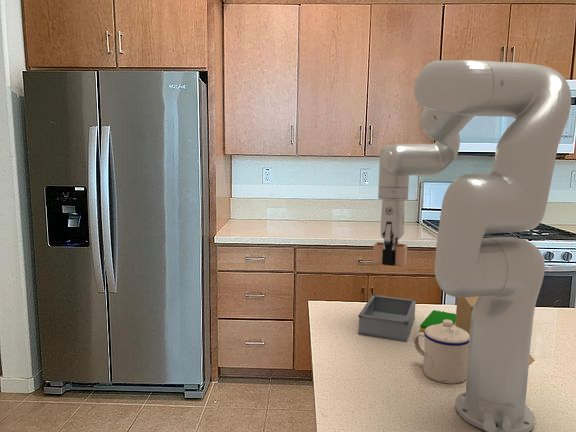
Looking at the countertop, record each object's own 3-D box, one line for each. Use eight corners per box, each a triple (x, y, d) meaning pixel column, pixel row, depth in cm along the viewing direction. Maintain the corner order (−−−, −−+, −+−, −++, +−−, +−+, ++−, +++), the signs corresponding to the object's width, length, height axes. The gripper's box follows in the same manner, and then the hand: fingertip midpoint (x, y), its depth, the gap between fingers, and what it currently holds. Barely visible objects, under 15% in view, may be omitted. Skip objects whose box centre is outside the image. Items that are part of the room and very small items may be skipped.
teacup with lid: (475, 375, 93) (479, 321, 91) (454, 390, 86) (458, 333, 85) (423, 355, 101) (426, 306, 100) (401, 368, 95) (404, 316, 94)
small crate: (404, 266, 113) (405, 247, 113) (372, 263, 116) (373, 245, 116) (406, 262, 118) (407, 244, 117) (376, 260, 120) (376, 241, 120)
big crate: (407, 342, 109) (408, 322, 108) (357, 334, 113) (358, 315, 112) (415, 317, 125) (416, 300, 125) (371, 311, 130) (372, 294, 129)
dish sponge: (459, 322, 123) (459, 314, 123) (448, 339, 112) (448, 330, 111) (432, 317, 127) (433, 309, 127) (419, 333, 115) (420, 324, 115)
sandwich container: (520, 372, 94) (526, 304, 92) (453, 349, 106) (457, 287, 104) (536, 361, 100) (542, 296, 98) (470, 339, 111) (474, 281, 109)
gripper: (404, 197, 105) (400, 272, 108) (411, 191, 121) (408, 257, 123) (372, 195, 108) (369, 268, 110) (383, 190, 123) (381, 255, 126)
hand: (390, 262), depth 117 cm, fingers closed on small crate, 4 cm apart
